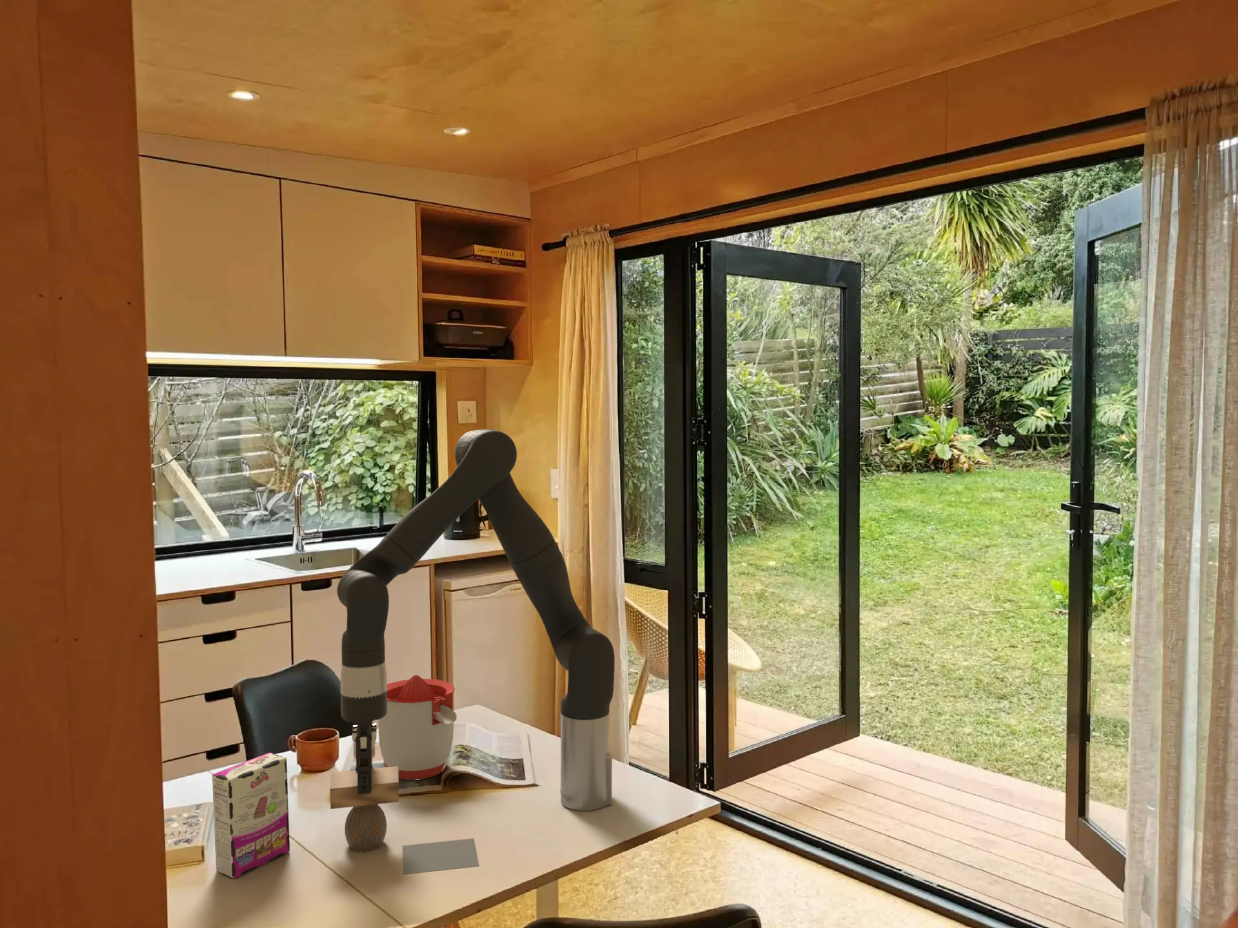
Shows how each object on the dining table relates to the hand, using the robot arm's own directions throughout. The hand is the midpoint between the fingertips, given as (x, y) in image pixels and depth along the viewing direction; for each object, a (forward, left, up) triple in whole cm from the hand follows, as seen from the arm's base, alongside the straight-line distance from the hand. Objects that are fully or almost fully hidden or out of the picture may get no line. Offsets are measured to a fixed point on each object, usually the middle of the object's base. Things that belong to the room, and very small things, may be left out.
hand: (365, 783), depth 161 cm
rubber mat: (-12, +7, -11) cm, 18 cm away
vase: (0, 0, -11) cm, 11 cm away
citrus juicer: (-10, -32, -11) cm, 35 cm away
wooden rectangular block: (0, 0, -2) cm, 2 cm away
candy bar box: (+18, +1, -11) cm, 21 cm away
